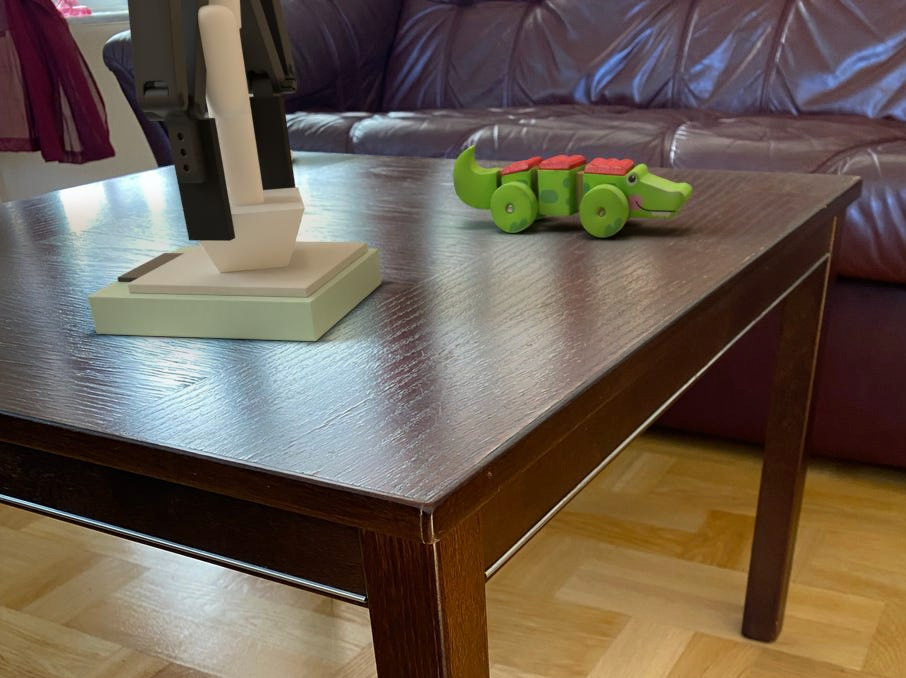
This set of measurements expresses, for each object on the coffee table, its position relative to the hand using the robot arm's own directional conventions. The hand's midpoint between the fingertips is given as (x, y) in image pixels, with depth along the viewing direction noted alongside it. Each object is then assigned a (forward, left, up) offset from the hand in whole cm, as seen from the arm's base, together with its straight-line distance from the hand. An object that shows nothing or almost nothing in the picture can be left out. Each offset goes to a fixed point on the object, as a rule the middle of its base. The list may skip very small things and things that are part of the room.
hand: (246, 220), depth 65 cm
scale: (-1, 0, -6) cm, 6 cm away
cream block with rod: (0, 0, -3) cm, 3 cm away
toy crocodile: (+17, +24, -6) cm, 30 cm away
